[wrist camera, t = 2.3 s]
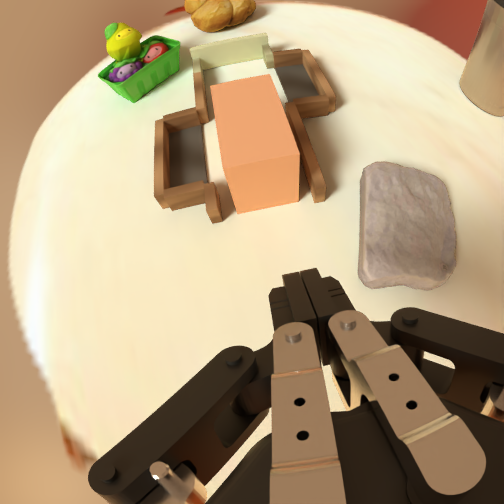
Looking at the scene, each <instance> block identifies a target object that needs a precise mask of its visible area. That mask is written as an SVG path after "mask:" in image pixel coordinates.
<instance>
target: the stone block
mask: <svg viewBox="0 0 504 504" xmlns="http://www.w3.org/2000/svg"><path fill="white" fill-rule="evenodd" d="M450 205H451V203H450V200H449V196H448V192H447V189H446V187H445V184H444V183H443V182H442V181H441V180H440V179H439V178H437V177H436V176H434V175H431V174H427V173H425V172H422V171H419V170H417V169H415V168H408V167H403V166H401V165H398V164H394V163H389V162H375V163H372V164H371V165H368V166H367V167H365V168H364V169H363V172H362V177H361V179H360V239H359V262H358V276H359V278H360V280H361V281H362V282H363V284H364V285H365V286H367V287H369V288H371V289H377V288H384V287H392V286H397V285H405V286H408V287H411V288H414V289H423V290H431V289H433V288H436V287H439V286H441V285H443V284H444V283H445V282H446V281H447V279H448V278H449V277H450V276H451V274H452V272H453V270H454V269H455V267H456V260H455V256H454V250H455V248H456V233H455V230H454V227H455V226H454V218H453V213H452V211H451V209H450Z"/></svg>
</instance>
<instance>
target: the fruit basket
mask: <svg viewBox="0 0 504 504" xmlns="http://www.w3.org/2000/svg"><path fill="white" fill-rule="evenodd" d="M105 36H106V39H107V45H106V46H107V47H106V48H107V51H108V54H109V55H110V56H111V57H112V58H114V59H115V61H114V62H112V63H111V64H110V65H108V66H107V67H106V68H105V69H103V70H102V71H101V72H100V73H99V74H98V77H99V78H100V79H101V80H102V81H104V82H106V83H107V84H108V85H109V86H110V87H111V88H112V89H113V90H114V91H115V92H116V93H118V94H119V95H121V96H122V97H124V98H126V99H127V100H130V101H131V102H132V103H135V102H136V101H137V100H139V99H140V98H141V97H142V96H143V95H144V94H146V93H148V92H149V91H150V90H152V89H153V88H154V87H155V86H156V85H158V84H160V83H161V82H163V81H164V80H165V79H167V78H168V77H169V76H170V75H172V74H174V73H175V72H177V71H178V70H179V49H180V42H179V41H177V40H173V39H169V38H165V37H162V36H158V35H155V36H152V37H150V38H148V39H146V40H145V41H143V42H141V43H140V39H141V37H142V35H141V33H140V32H139V31H137V30H136V29H134V28H132V27H129V26H128V25H126V24H125V23H112V24H111V25H109V26H108V27H107V28H106V29H105Z"/></svg>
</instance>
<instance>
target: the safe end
mask: <svg viewBox="0 0 504 504" xmlns="http://www.w3.org/2000/svg"><path fill="white" fill-rule="evenodd" d="M266 44H268V36H267V34H266V33H262V34H256V35H249V36H243V37H238V38H232V39H227V40H222V41H218V42H213V43H209V44H204V45H200V46H196V47H192V48H190V53H191V57H192V59H195V58H199V59H200V62H201V66H202V69H203V70H207V69H211V68H215V67H220V66H224V65H229V64H234V63H239V62H245V61H250V60H256V59H262V58H263V53H262V45H266Z"/></svg>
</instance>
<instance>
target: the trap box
mask: <svg viewBox="0 0 504 504" xmlns="http://www.w3.org/2000/svg"><path fill="white" fill-rule="evenodd" d="M262 53H263V59H264V62H265V64H266V67H267V69H268V68H275V70H276V73H277V75H278V78H279V80H280V82H281V85H282V87H283V90H284V92H285V94H286V97H287V99H288V103H285V104H286V117H287V120H288V122H289V125H290V128H291V131H292V133H293V136H294V139H295V142H296V145H297V147H298V150H299V153H300V159H301V162H302V165H303V169H304V172H305V175H306V178H307V181H308V184H309V187H310V190H311V193H312V197H313V200H314V203H318V202H323V201H324V200H325V194H326V188H327V187H326V184H325V181H324V178H323V175H322V172H321V170H320V167H319V164H318V161H317V159H316V156H315V153H314V151H313V148H312V145H311V143H310V140H309V137H308V135H307V132H306V130H305V127H304V125H303V122H302V120H301V119H304V118H311V117H318V116H326V115H328V112H334V111H335V102H336V95H335V94H334V92H333V90H332V88H331V86H330V85H329V83H328V81H327V79H326V78H325V76H324V74H323V73H322V71H321V69H320V68H319V66H318V64H317V63H316V61H315V59H314V58H313V56H312V54H311V53H310V51H309V50H301V49H293V50H284V51H277V52H272V51H271V48H270V46H269V44H266V45H262ZM192 63H193V77H194V90H195V103H196V107H194V108H190V109H186V110H182V111H179V112H175V113H172V114H168V115H165V116H163V119H160V120H157V121H155V146H154V197H155V198H156V200H157V201H158V203H159V204H160V205H161V207H162V208H163V209H164V208H168V207H170V208H171V210H172V211H173V210H177V209H182V208H186V207H190V206H194V205H199V204H203V203H205V204H206V211H207V213H208V216H209V218H210V220H211V222H212V224H214V223H218V222H223V220H222V214H221V207H220V200H219V195H218V192H217V189H216V187H215V184H214V182H211V183H207V174H206V165H205V156H204V147H203V138H202V128H201V124H203V123H207V122H209V117H208V109H207V101H206V93H205V85H204V76H203V69H202V66H201V62H200V59H199V58H195V59H192Z"/></svg>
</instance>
